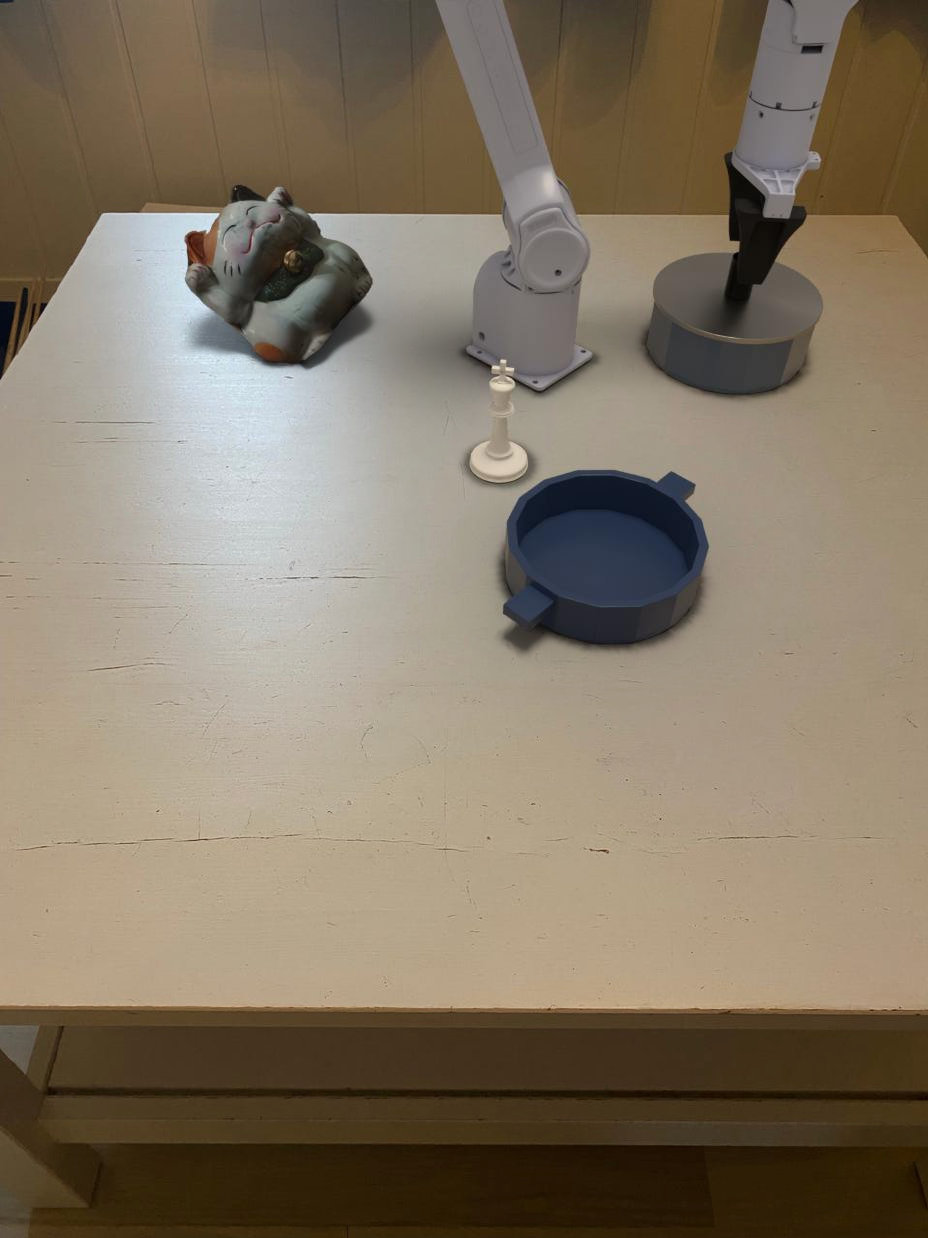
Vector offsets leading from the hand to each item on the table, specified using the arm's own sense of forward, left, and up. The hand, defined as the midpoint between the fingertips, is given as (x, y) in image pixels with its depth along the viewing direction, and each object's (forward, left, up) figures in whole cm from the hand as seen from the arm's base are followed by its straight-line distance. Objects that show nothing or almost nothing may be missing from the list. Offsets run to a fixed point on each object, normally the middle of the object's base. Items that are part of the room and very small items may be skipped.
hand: (745, 260), depth 84 cm
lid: (0, 0, -4) cm, 4 cm away
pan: (+10, -32, -9) cm, 35 cm away
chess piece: (-4, -28, -9) cm, 30 cm away
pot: (0, 0, -9) cm, 9 cm away
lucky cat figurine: (-33, -27, -9) cm, 44 cm away
